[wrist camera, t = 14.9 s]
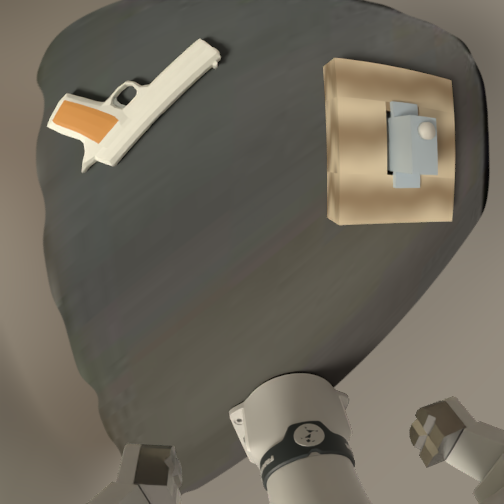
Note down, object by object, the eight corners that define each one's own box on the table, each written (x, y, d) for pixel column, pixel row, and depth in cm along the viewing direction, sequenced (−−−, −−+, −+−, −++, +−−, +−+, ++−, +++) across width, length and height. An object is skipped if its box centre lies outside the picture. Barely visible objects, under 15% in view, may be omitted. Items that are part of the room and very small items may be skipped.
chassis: (434, 214, 38) (451, 221, 34) (327, 217, 37) (339, 224, 33) (433, 84, 33) (451, 80, 29) (323, 66, 31) (334, 57, 28)
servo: (399, 183, 36) (441, 193, 28) (377, 183, 36) (416, 193, 28) (397, 108, 33) (439, 100, 25) (373, 105, 33) (413, 96, 25)
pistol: (159, 7, 28) (225, 61, 31) (45, 129, 31) (103, 187, 34) (156, -1, 26) (225, 55, 29) (36, 128, 28) (95, 190, 31)
